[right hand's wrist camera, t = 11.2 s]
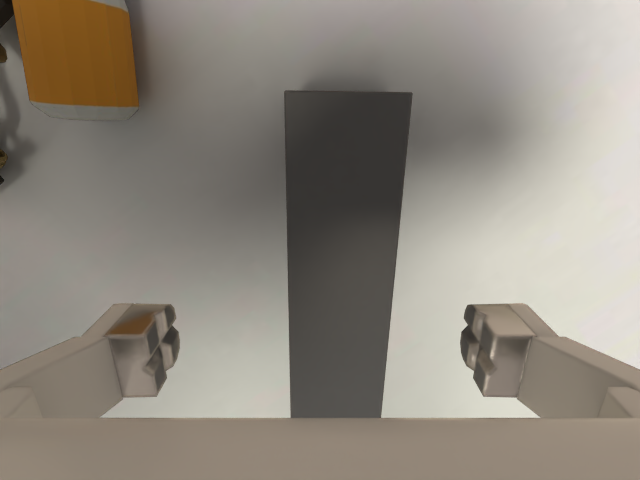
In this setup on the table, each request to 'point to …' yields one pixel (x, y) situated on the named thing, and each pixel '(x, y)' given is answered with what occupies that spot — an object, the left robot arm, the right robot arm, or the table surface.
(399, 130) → the bar
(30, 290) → the table surface
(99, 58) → the spray gun
